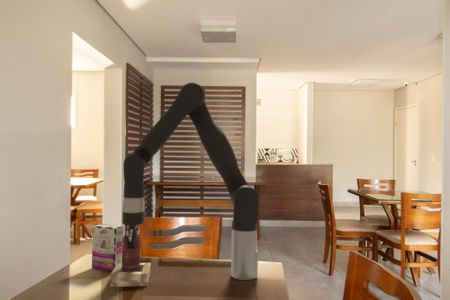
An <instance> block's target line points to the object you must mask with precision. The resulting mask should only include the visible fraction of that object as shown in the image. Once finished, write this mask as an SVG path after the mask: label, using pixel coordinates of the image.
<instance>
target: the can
mask: <svg viewBox="0 0 450 300" xmlns="http://www.w3.org/2000/svg"><path fill="white" fill-rule="evenodd" d="M126 238H127V235H126V234H125V235H123V244H122V272H140V263H141V244H142V238H141V236H140V234H138V236H137V237H135V246H136V248H135V249H128V248H127V239H126ZM129 246H133V245H129Z"/></svg>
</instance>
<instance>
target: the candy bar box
mask: <svg viewBox="0 0 450 300" xmlns="http://www.w3.org/2000/svg"><path fill="white" fill-rule="evenodd" d="M124 227H125V225H124V226H123V225H115V224H103V223H101V224H100V223H99V224H96V225H93V226H92V249H91V250H92V253H91V254H92V256H91V269H95V270H100V271H106V272H110V273H112V271H113V270H114V268H115V267H116V265H117V263H122V244H123V237H124Z"/></svg>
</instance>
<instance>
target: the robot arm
mask: <svg viewBox="0 0 450 300" xmlns="http://www.w3.org/2000/svg"><path fill="white" fill-rule="evenodd" d="M205 94H206V93H205V89H204V88H203V87H202V85H200V84H199V83H197V82H188V83H185V84H184V85H183V86H182V87H181V88H180V90H179V93H178V94H177V96H176V97H175V99H174V101H173V102H172V103H171V105H170V107H169V108H168V109H167V110H166V112H165V113H164V114H163V116H161V118H160V119H159V120H158V121H157V122H156V123H155V124H154V125H153V126H152V128H151V129H150V130H149V131H148V132H147V133H146V134H145V136H144V137H143V138H142V139H141V140H140V143H139V144H138V146H137V147H136V148H135V149H134V150H133V151H132V152H131V153H130V154H127V156H126V157H125V158H124V160H123V181H124V185H123V200H122V210H121V211H122V214H121V215H122V218H121V223H122V225H124V226H128V228H127V229H126V233H125V235H127V238H126V239H127V248H128V249H135V248H136V246H135V237H137V236H138V235H140V227H138V226H139V225H140V226H141V225H144V223H145V207H146V205H145V183H144V174H145V173H144V171H145V168H146V166H147V165H148V164H149V163H150V161H151V160H152V159H153V158H154V156H155V155H156V154H157V153H158V152H159V151H160V150H161V149H162V147H164V145H165V144H166V142H168V140H169V139H170V137H172V135H173V133H174V132H175V130H176V129H177V128H178V127H179V126H180V124H181V123H182V121H183V120H184V119H185V118H186V117H189V118H190V120H191V122H192V124H193V125H194V127H195V131H196V132H197V134H198V137H199V139H200V142H201V144H202V146H203V149H204V150H205V152H206V154H207V156H208V158H209V159H210V161H211V163H212V164H213V167H214V168H215V170H216V171H217V173H218V174H219V175H220V177H221V178H222V180H223V182H224V184H225V187H226V189H227V192H228V194H229V196H230V200H231V202H232V204H233V219H232V221H231V259H230V260H231V263H230V265H231V267H230V268H231V269H230V276H231V278H233V279H236V280H240V281H250V280H254V279H258V273H259V272H258V271H259V270H258V267H259V264H258V263H259V259H258V258H259V256H258V255H259V252H258V250H257V243H258V242H257V241H258V239H257V235H258V223H259V217H260V216H259V215H260V196H259V193H258V191H257V190H256V189H255V188H254V187H252V186H250V185H249V183H248V181H247V180H246V179H245V177H244V176H243V174H242V171H241V170H240V167H239V165H238V161H237V157H236V155H235V154H236V153H235V151H234V149H233V147H232V145H231V143H230V141H229V140H228V139H229V138H228V137H227V136H226V134H225V132H224V130H222V128H221V127H220V126H219V125H218V123H217V122H216V121H215V119H214V118H213V117H212V115H211V113H210V111H209V109H208V106H207V105H206V102H205V98H206V95H205ZM129 245H133V246H129Z"/></svg>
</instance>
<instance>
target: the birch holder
mask: <svg viewBox="0 0 450 300" xmlns="http://www.w3.org/2000/svg"><path fill="white" fill-rule="evenodd" d="M151 263H152V262H140V272H122V263H117V265H116V267H115V268H114V270H113V271H112V272H110V281H109V287H110V288H113V287H114V288H115V287H117V288H118V287H121V288H122V287H148V285H149V280H150V278H151V274H152V273H151V272H152V271H151V270H152V267H151V266H152V264H151Z"/></svg>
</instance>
